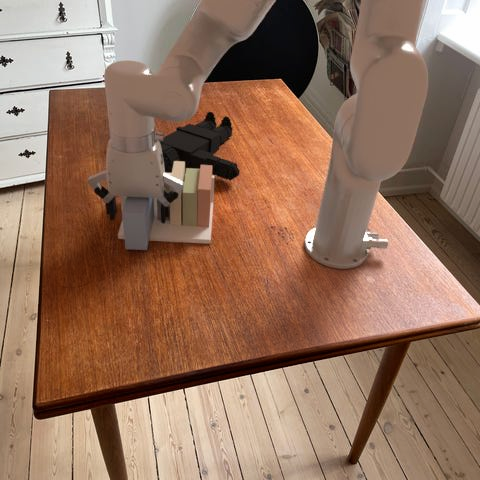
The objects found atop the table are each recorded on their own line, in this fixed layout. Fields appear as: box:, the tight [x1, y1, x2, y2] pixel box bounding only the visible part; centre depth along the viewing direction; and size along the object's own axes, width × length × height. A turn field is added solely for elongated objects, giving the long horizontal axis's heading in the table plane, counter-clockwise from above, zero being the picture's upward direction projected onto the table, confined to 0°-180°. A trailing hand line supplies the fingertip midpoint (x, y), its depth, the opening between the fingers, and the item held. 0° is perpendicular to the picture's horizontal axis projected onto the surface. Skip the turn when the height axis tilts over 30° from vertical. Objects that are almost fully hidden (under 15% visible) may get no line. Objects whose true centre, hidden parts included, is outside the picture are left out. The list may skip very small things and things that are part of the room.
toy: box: [159, 111, 240, 181], centre depth 122 cm, size 33×8×30 cm
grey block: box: [121, 196, 154, 251], centre depth 95 cm, size 4×11×8 cm, turn 1°
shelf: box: [117, 161, 216, 245], centre depth 99 cm, size 18×14×10 cm
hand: (138, 217), depth 96 cm, fingers open, 9 cm apart
